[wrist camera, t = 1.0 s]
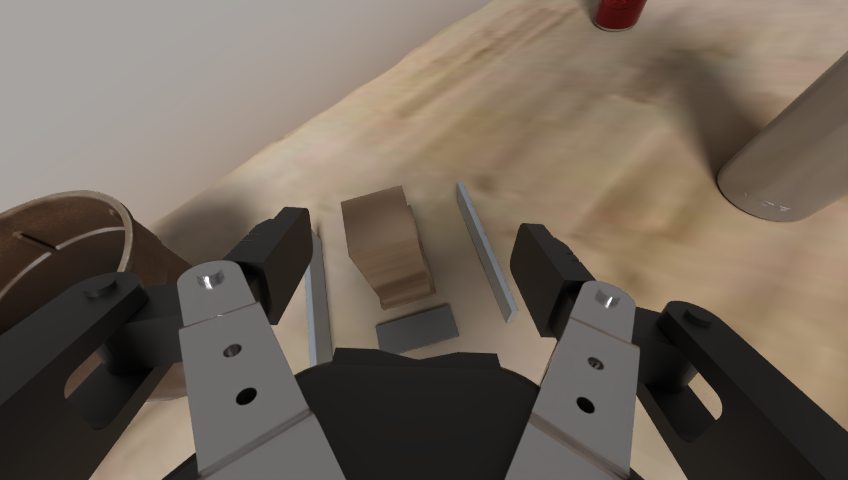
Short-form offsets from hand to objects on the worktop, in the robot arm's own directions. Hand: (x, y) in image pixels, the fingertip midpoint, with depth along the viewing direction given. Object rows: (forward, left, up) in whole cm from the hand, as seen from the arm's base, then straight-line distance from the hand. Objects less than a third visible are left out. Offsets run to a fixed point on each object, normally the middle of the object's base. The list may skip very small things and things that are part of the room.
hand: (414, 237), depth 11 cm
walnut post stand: (-3, -11, -21) cm, 24 cm away
